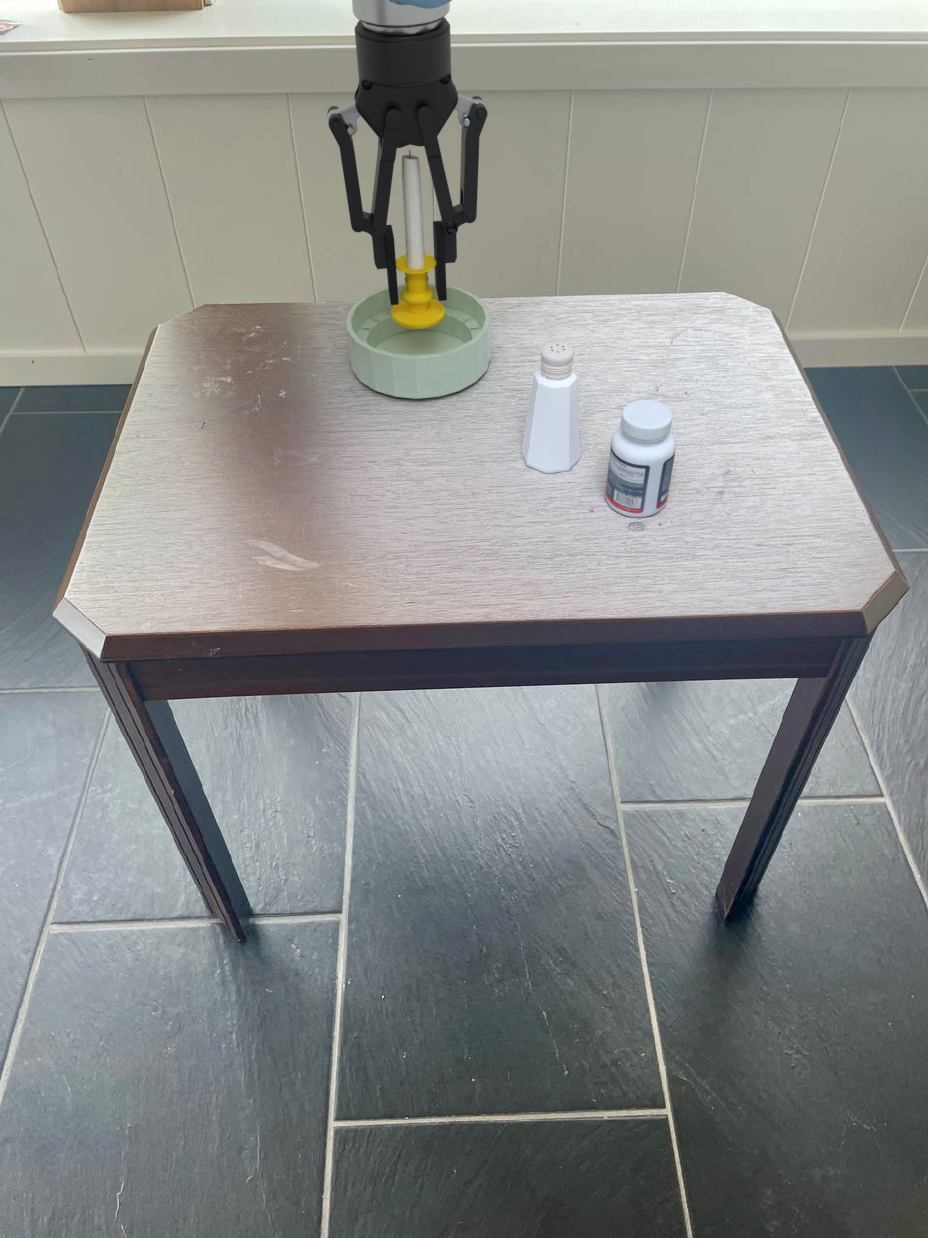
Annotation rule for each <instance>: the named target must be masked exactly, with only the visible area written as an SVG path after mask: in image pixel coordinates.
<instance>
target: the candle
mask: <svg viewBox="0 0 928 1238" xmlns="http://www.w3.org/2000/svg"><path fill="white" fill-rule="evenodd" d="M401 180H402V181H401V182H402V183H401V184H402V198H403V200H402V201H403V219H404V221H403V222H404V236H405V238H404V239H405V254H404V255H401V256H399V257H398V258H396V270H397V271H399V272H401V273H404V275H405V276H404V283H405V284H406V287H404V288H403V289H402V290H401V298H402V300H401V301H400V302H399V305H394V306H393V308H392V318H393V320H394V321H395V322H396V323H397V324H398V325H400V326H403V327H406V328H411V329H424V328H429V327H432V326H435V325H437V324H438V323H440V322H441V321H442V320H443V319H444V316H445V307H444V306H443V304H442V303H440V302H439V301H437V300H435V299H433V297H434V290H433V289H432V287H430V286H428V282H429V276H428V273H429V272H430V271H433V270H434V269H435V266H436V260H435V258H434V256H432V255H431V254H427V253H425V238H424V217H423V200H422V199H423V198H422V180H421V169H420V159H419V157H418V156H416V155H412V154H411V149H408V154H403V155H401Z"/></svg>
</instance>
